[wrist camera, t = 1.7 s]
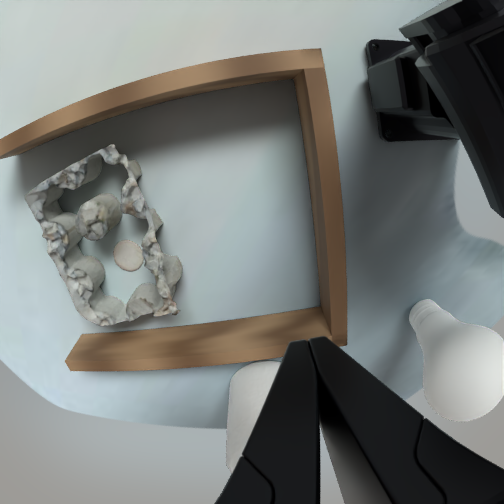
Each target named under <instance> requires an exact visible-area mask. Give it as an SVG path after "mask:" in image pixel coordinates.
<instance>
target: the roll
mask: <svg viewBox="0 0 504 504" xmlns="http://www.w3.org/2000/svg"><path fill="white" fill-rule="evenodd" d="M280 364H281V362H276V361H259V362H254V363H251V364H248V365H246V366H245V367H243V368H241V369H240V370H238V371H237V372H236V373H235V374H234V375H233V377H232V379H231V381H230V389H229V403H228V418H227V441H226V452H227V453H226V465H227V467H228V469H229V470H230V471H231V474H232V472H233V470H234V468H235V466H236V464H237V462H238V460H239V458H240V457H241V456H242V452H243V450H244V447H245V445H246V443H247V441H248V439H249V436H250V434H251V432H252V430H253V427H254V425H255V423H256V421H257V418H258V416H259V414H260V412H261V409H262V407H263V405H264V402H265V400H266V397H267V395H268V393H269V390H270V388H271V386H272V383H273V381H274V378H275V376H276V373H277V371H278V368H279V366H280Z"/></svg>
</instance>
